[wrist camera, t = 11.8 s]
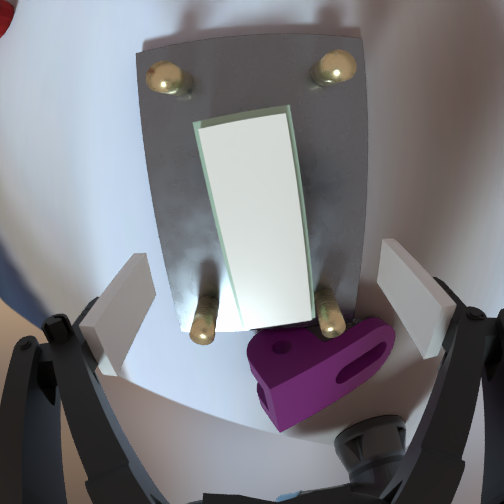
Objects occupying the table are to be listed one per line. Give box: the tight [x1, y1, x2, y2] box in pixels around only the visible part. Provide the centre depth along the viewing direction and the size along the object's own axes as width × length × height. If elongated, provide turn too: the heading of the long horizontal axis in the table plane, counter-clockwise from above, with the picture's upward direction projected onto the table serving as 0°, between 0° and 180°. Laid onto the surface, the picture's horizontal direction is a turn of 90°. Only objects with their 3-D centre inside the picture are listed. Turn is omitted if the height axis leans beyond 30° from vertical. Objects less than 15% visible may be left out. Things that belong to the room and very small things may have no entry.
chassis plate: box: [136, 34, 368, 345], centre depth 25 cm, size 30×20×6 cm, turn 4°
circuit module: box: [193, 105, 315, 330], centre depth 23 cm, size 16×6×8 cm, turn 10°
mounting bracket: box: [247, 317, 395, 432], centre depth 35 cm, size 9×8×18 cm
